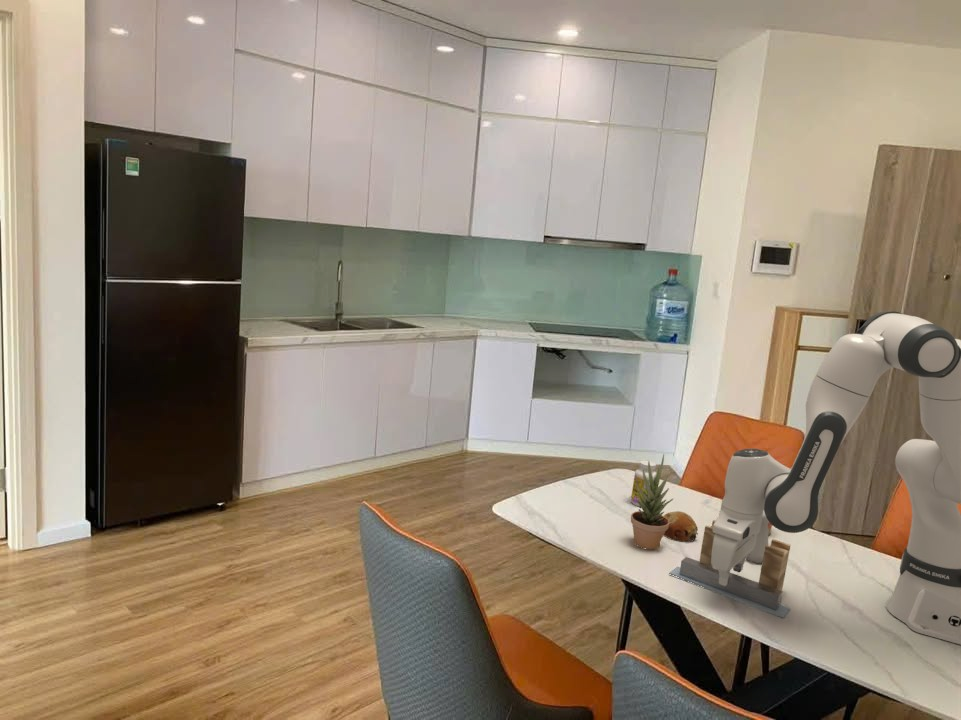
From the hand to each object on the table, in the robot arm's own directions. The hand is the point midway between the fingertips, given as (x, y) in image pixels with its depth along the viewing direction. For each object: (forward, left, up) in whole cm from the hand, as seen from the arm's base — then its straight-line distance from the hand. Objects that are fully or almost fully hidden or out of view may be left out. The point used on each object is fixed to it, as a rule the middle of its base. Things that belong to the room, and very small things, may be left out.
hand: (730, 577), depth 164 cm
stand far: (+7, -8, -4) cm, 11 cm away
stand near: (-7, -8, -3) cm, 11 cm away
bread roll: (+21, -23, -4) cm, 31 cm away
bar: (0, 0, -3) cm, 3 cm away
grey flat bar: (0, 0, -4) cm, 4 cm away
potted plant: (+24, -9, -4) cm, 26 cm away
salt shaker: (+1, -23, -4) cm, 23 cm away
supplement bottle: (+38, -36, -4) cm, 53 cm away
